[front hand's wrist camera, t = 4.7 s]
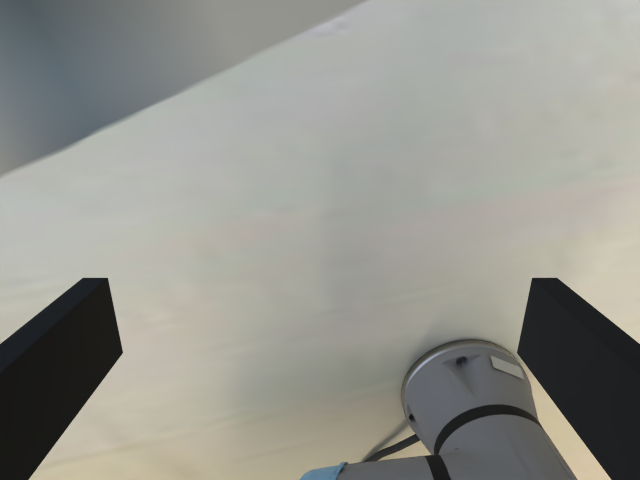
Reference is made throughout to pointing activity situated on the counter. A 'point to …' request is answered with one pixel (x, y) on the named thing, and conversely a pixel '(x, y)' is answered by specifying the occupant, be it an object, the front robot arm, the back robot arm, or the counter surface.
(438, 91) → the counter surface
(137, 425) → the counter surface
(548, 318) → the front robot arm
